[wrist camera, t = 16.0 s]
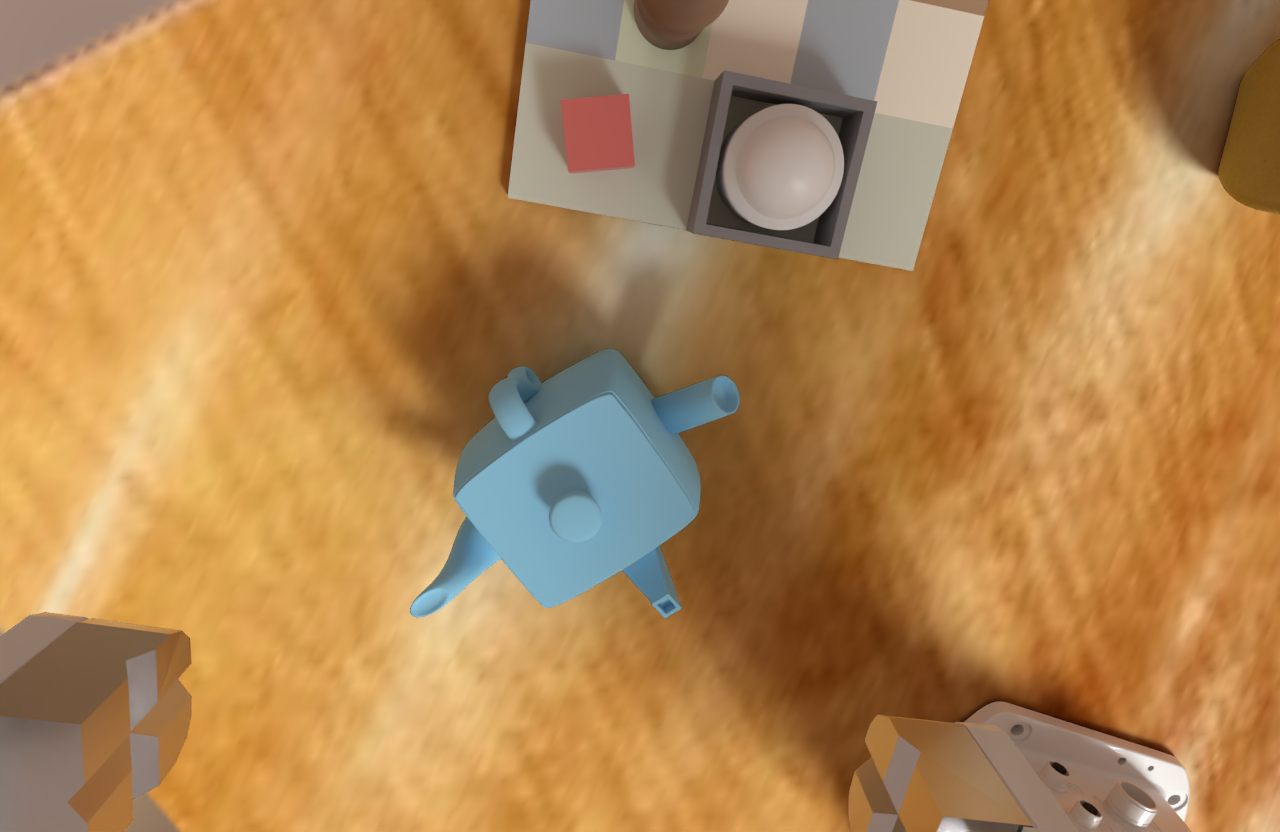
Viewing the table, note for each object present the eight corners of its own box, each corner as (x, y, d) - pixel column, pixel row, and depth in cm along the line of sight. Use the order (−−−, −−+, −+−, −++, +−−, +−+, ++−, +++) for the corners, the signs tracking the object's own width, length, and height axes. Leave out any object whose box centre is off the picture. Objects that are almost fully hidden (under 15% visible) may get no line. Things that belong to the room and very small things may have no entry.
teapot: (652, 257, 38) (667, 280, 28) (787, 464, 41) (841, 546, 32) (382, 443, 40) (311, 522, 30) (533, 622, 44) (512, 743, 34)
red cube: (627, 101, 34) (629, 93, 32) (632, 167, 35) (635, 165, 32) (564, 107, 34) (560, 99, 32) (571, 173, 35) (568, 172, 32)
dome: (837, 122, 35) (874, 111, 30) (810, 236, 36) (842, 243, 31) (728, 101, 34) (748, 85, 29) (705, 216, 36) (721, 220, 31)
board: (980, -2, 35) (1026, -26, 31) (905, 269, 38) (938, 277, 35) (545, -97, 33) (536, -136, 29) (509, 197, 36) (498, 198, 33)
